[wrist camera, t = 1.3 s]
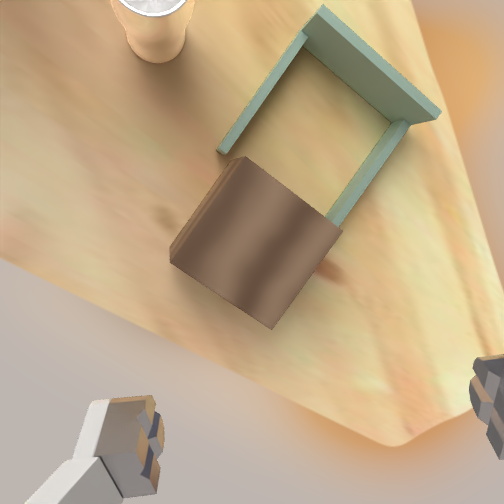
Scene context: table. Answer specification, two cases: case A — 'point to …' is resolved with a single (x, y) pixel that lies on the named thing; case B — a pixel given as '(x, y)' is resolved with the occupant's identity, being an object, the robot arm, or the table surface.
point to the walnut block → (253, 241)
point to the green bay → (361, 81)
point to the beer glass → (154, 26)
